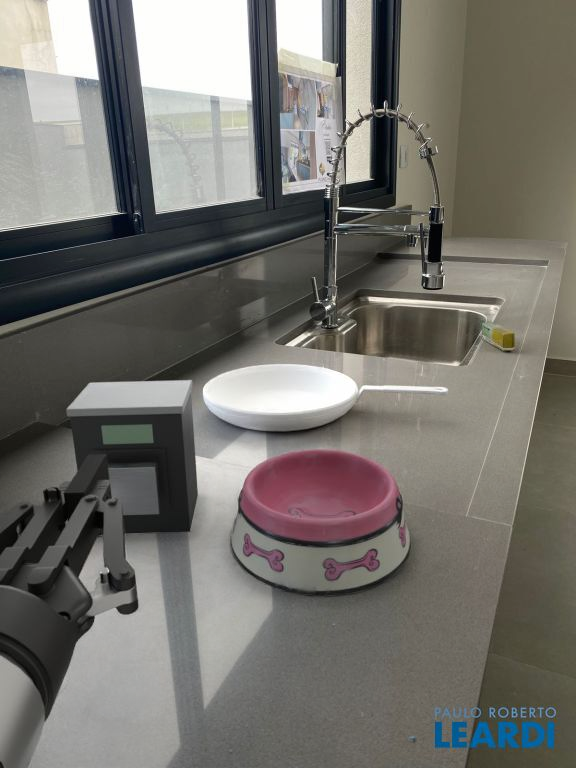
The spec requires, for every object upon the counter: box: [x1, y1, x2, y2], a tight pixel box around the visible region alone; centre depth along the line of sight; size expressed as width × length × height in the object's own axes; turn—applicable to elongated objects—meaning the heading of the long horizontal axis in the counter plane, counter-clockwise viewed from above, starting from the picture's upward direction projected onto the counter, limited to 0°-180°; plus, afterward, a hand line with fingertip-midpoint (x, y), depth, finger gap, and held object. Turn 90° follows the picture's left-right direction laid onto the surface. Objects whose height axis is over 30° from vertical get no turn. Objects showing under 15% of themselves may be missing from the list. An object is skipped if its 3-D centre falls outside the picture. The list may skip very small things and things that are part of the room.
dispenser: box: [65, 379, 199, 535], centre depth 66 cm, size 8×11×14 cm
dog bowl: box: [229, 448, 412, 596], centre depth 62 cm, size 18×19×7 cm
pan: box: [202, 363, 449, 432], centre depth 97 cm, size 25×39×4 cm, turn 82°
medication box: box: [481, 321, 516, 352], centre depth 134 cm, size 12×3×4 cm, turn 5°
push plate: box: [108, 462, 161, 515], centre depth 60 cm, size 1×6×5 cm, turn 92°
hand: (99, 469), depth 50 cm, fingers closed
